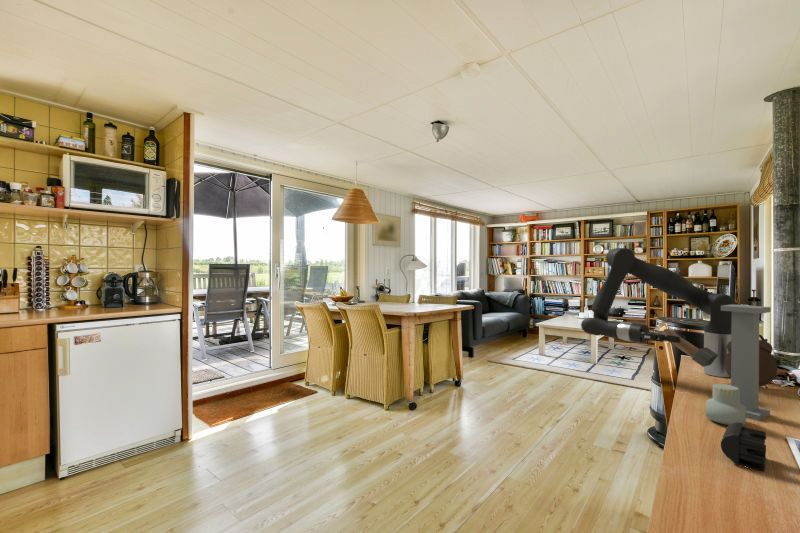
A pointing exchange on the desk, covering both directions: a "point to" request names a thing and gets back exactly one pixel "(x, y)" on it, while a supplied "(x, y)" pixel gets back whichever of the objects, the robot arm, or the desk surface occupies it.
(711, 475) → the desk surface
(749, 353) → the stand
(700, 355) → the mallet
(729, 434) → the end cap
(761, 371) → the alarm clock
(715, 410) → the air freshener
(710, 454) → the desk surface
